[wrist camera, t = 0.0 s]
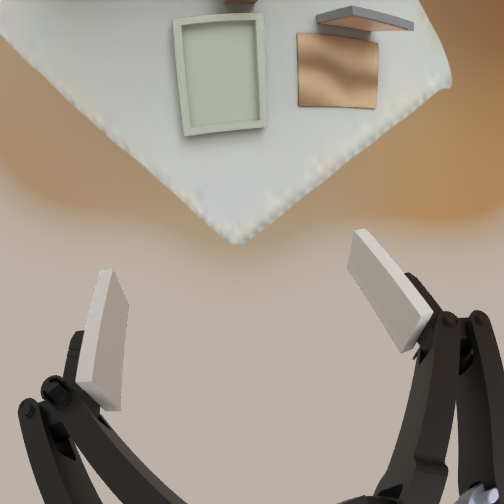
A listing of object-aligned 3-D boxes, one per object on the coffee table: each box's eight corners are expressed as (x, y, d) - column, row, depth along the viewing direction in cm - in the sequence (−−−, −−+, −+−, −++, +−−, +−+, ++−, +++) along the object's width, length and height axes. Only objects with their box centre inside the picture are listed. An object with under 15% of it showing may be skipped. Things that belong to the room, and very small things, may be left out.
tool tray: (173, 21, 27) (172, 19, 25) (259, 15, 28) (263, 12, 26) (184, 133, 36) (184, 136, 35) (264, 123, 38) (268, 127, 36)
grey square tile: (316, 15, 29) (352, 5, 21) (370, 24, 30) (413, 22, 22) (316, 23, 30) (352, 15, 22) (371, 32, 31) (413, 31, 23)
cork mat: (296, 32, 30) (297, 32, 30) (376, 43, 32) (378, 43, 32) (298, 105, 37) (299, 106, 37) (374, 108, 39) (376, 108, 38)
